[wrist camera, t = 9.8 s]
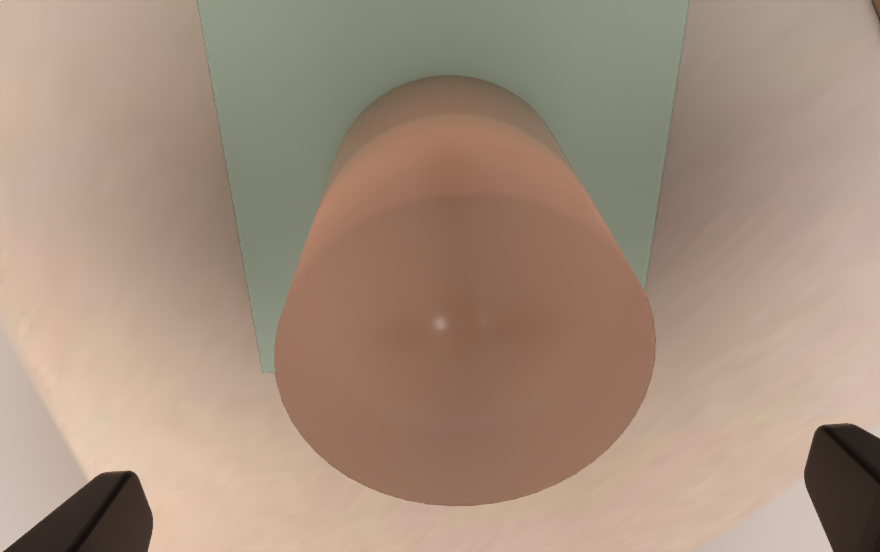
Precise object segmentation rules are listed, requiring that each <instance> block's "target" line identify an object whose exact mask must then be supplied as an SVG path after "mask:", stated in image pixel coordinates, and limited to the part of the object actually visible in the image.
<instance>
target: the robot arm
mask: <svg viewBox="0 0 880 552" xmlns="http://www.w3.org/2000/svg"><path fill="white" fill-rule="evenodd" d="M804 479H805V485H806V488H807V491H808V493H809V496H810V498H811V500H812V503H813V505H814V507H815V510H816V512H817V514H818V517H819V519H820V521H821V524H822V526H823V529H824V531H825V533H826V536H827V538H828V540H829V543H830V545H831V547H832V549H833V552H880V438H878V437H876V436H874V435H873V434H871V433H869V432H867V431H865V430H864V429H862V428H860V427H858V426H856V425H854V424H848V423H844V424H828V425H822V426H820V427H818V428H817V430H816V431H815V433H814V437H813V440H812V444H811V448H810V451H809V455H808V459H807V462H806V466H805V471H804ZM152 530H153V517H152V512H151V509H150V507H149V504H148V501H147V499H146V496H145V493H144V491H143V488H142V485H141V483H140V480H139V478H138V476H137V475H136V474H135V473H134V472H132V471H115V472H105V473H101V474H99V475H98V476H96V477H95V478H94V479H92V480H91V481H90V482H89V483H88V484H86V485H85V486H84V487H83V488H81V489H80V490H79V491H78V492H76V493H75V494H74V495H73V496H71V497H70V498H69V499H68V500H66V501H65V502H64V503H63V504H62V505H60V506H59V507H58V508H57V509H55V510H54V511H53V512H52V513H50V514H49V515H48V516H47V517H45V518H44V519H43V520H42V521H40V522H39V523H38V524H37V525H36V526H34V527H33V528H32V529H31V530H30V531H28V532H27V533H26V534H24V535H23V536H22V537H21V538H19V539H18V540H17V541H16V542H15V543H13V544H12V545H11V546H10V547H8V548H7V549H6V550H5V551H3V552H148V548H149V544H150V539H151V535H152Z"/></svg>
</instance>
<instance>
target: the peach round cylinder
mask: <svg viewBox="0 0 880 552" xmlns="http://www.w3.org/2000/svg"><path fill="white" fill-rule="evenodd" d="M655 343H656V338H655V330H654V322H653V316H652V313H651V309H650V306H649V303H648V299H647V297H646V295H645V293H644V290H643V288H642V286H641V284H640V282H639V280H638V278H637V276H636V275H635V273H634V271H633V270H632V268H631V266H630V265H629V263H628V261H627V259H626V258H625V256H624V254H623V253H622V251H621V249H620V248H619V246H618V244H617V242H616V241H615V239H614V237H613V236H612V234H611V232H610V231H609V229H608V227H607V226H606V224H605V222H604V220H603V219H602V217H601V215H600V214H599V212H598V210H597V209H596V207H595V205H594V204H593V202H592V200H591V198H590V197H589V195H588V193H587V192H586V190H585V188H584V187H583V185H582V183H581V181H580V180H579V178H578V176H577V175H576V173H575V171H574V170H573V168H572V166H571V165H570V163H569V161H568V159H567V158H566V156H565V154H564V153H563V151H562V149H561V148H560V146H559V144H558V142H557V141H556V139H555V137H554V136H553V134H552V132H551V131H550V129H549V128H548V126H547V125H546V123H545V122H544V120H543V119H542V118H541V117H540V116H539V115H538V113H537V112H536V111H535V110H534V109H533V108H532V107H531V106H530V105H529V104H527V103H526V102H525V101H524V100H522V99H521V98H520V97H519V96H517V95H515V94H514V93H512V92H510V91H509V90H507V89H505V88H503V87H501V86H498V85H496V84H494V83H491V82H488V81H485V80H481V79H478V78H473V77H466V76H458V75H441V76H434V77H426V78H422V79H418V80H415V81H411V82H408V83H405V84H403V85H401V86H398V87H396V88H394V89H392V90H390V91H389V92H387V93H385V94H384V95H382V96H380V97H379V98H377V99H376V100H375V101H374V102H372V103H371V104H370V105H369V106H367V107H366V108H365V109H364V110H363V112H362V113H361V114H360V115H359V116H358V117H357V118H356V119H355V120H354V122H353V123H352V125H351V126H350V127H349V129H348V130H347V132H346V133H345V135H344V137H343V139H342V141H341V143H340V145H339V148H338V151H337V153H336V156H335V159H334V162H333V165H332V168H331V170H330V173H329V176H328V179H327V182H326V185H325V188H324V191H323V194H322V197H321V199H320V202H319V205H318V208H317V211H316V214H315V217H314V220H313V223H312V226H311V228H310V231H309V234H308V237H307V240H306V243H305V246H304V249H303V252H302V255H301V257H300V260H299V263H298V266H297V269H296V272H295V275H294V278H293V281H292V284H291V286H290V289H289V292H288V295H287V298H286V301H285V304H284V307H283V310H282V312H281V315H280V318H279V321H278V327H277V332H276V337H275V345H274V366H275V373H276V381H277V385H278V388H279V392H280V395H281V398H282V402H283V404H284V406H285V408H286V410H287V412H288V414H289V417H290V419H291V421H292V422H293V424H294V425H295V427H296V428H297V430H298V431H299V433H300V434H301V436H302V437H303V438H304V439H305V440H306V441H307V443H308V444H309V445H310V446H311V447H312V448H313V449H314V451H315V452H316V453H318V454H319V455H320V456H321V457H322V458H323V459H324V460H326V461H327V462H328V463H329V464H330V465H331V466H333V467H334V468H336V469H337V470H339V471H340V472H342V473H343V474H345V475H346V476H347V477H349V478H351V479H353V480H355V481H357V482H359V483H361V484H362V485H364V486H366V487H369V488H371V489H374V490H376V491H379V492H381V493H384V494H386V495H390V496H393V497H397V498H400V499H404V500H407V501H413V502H419V503H424V504H432V505H444V506H474V505H483V504H492V503H498V502H503V501H508V500H513V499H517V498H520V497H523V496H527V495H530V494H533V493H536V492H539V491H541V490H543V489H546V488H548V487H551V486H553V485H556V484H558V483H559V482H561V481H563V480H565V479H567V478H569V477H571V476H572V475H574V474H576V473H577V472H579V471H580V470H582V469H583V468H585V467H586V466H588V465H589V464H591V463H592V462H593V461H594V460H596V459H597V458H598V457H599V456H600V455H601V454H603V453H604V452H605V451H606V450H607V449H608V448H609V447H610V446H611V445H612V444H613V443H614V442H615V441H616V440H617V439H618V438H619V436H620V435H621V434H622V433H623V432H624V430H625V429H626V428H627V426H628V425H629V423H630V422H631V421H632V419H633V418H634V416H635V415H636V413H637V411H638V409H639V407H640V405H641V403H642V401H643V399H644V397H645V394H646V392H647V389H648V386H649V383H650V380H651V376H652V371H653V366H654V361H655Z"/></svg>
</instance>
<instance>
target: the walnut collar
mask: <svg viewBox="0 0 880 552" xmlns="http://www.w3.org/2000/svg"><path fill="white" fill-rule="evenodd" d="M873 3H874V6H875V8H876V11H877V14H878V16H879V19H880V0H873Z"/></svg>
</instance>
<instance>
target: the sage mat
mask: <svg viewBox="0 0 880 552" xmlns="http://www.w3.org/2000/svg"><path fill="white" fill-rule="evenodd" d="M197 3H198V9H199V14H200V20H201V26H202V31H203V37H204V43H205V49H206V54H207V60H208V66H209V71H210V77H211V83H212V88H213V94H214V100H215V105H216V111H217V117H218V122H219V128H220V134H221V139H222V145H223V151H224V157H225V162H226V168H227V174H228V179H229V185H230V191H231V196H232V202H233V208H234V213H235V219H236V225H237V230H238V236H239V242H240V248H241V253H242V259H243V265H244V270H245V276H246V282H247V287H248V293H249V299H250V304H251V310H252V316H253V321H254V327H255V333H256V338H257V344H258V350H259V356H260V361H261V367H262V373H275V366H274V345H275V337H276V332H277V327H278V321H279V318H280V315H281V312H282V310H283V307H284V304H285V301H286V298H287V295H288V292H289V289H290V286H291V284H292V281H293V278H294V275H295V272H296V269H297V266H298V263H299V260H300V257H301V255H302V252H303V249H304V246H305V243H306V240H307V237H308V234H309V231H310V228H311V226H312V223H313V220H314V217H315V214H316V211H317V208H318V205H319V202H320V199H321V197H322V194H323V191H324V188H325V185H326V182H327V179H328V176H329V173H330V170H331V168H332V165H333V162H334V159H335V156H336V153H337V151H338V148H339V145H340V143H341V141H342V139H343V137H344V135H345V133H346V132H347V130H348V129H349V127H350V126H351V125H352V123H353V122H354V120H355V119H356V118H357V117H358V116H359V115H360V114H361V113H362V112H363V110H364V109H365V108H366V107H367V106H369V105H370V104H371V103H372V102H374V101H375V100H376V99H377V98H379V97H380V96H382V95H384V94H385V93H387V92H389V91H390V90H392V89H394V88H396V87H398V86H401V85H403V84H405V83H408V82H411V81H415V80H418V79H422V78H426V77H434V76H441V75H458V76H466V77H473V78H478V79H481V80H485V81H488V82H491V83H494V84H496V85H498V86H501V87H503V88H505V89H507V90H509V91H510V92H512V93H514V94H515V95H517V96H519V97H520V98H521V99H522V100H524V101H525V102H526V103H527V104H529V105H530V106H531V107H532V108H533V109H534V110H535V111H536V112H537V113H538V115H539V116H540V117H541V118H542V119H543V120H544V122H545V123H546V125H547V126H548V128H549V129H550V131H551V132H552V134H553V136H554V137H555V139H556V141H557V142H558V144H559V146H560V148H561V149H562V151H563V153H564V154H565V156H566V158H567V159H568V161H569V163H570V165H571V166H572V168H573V170H574V171H575V173H576V175H577V176H578V178H579V180H580V181H581V183H582V185H583V187H584V188H585V190H586V192H587V193H588V195H589V197H590V198H591V200H592V202H593V204H594V205H595V207H596V209H597V210H598V212H599V214H600V215H601V217H602V219H603V220H604V222H605V224H606V226H607V227H608V229H609V231H610V232H611V234H612V236H613V237H614V239H615V241H616V242H617V244H618V246H619V248H620V249H621V251H622V253H623V254H624V256H625V258H626V259H627V261H628V263H629V265H630V266H631V268H632V270H633V271H634V273H635V275H636V276H637V278H638V280H639V282H640V284H641V286H642V288H643V290H644V292H645V286H646V279H647V273H648V266H649V260H650V253H651V247H652V240H653V234H654V227H655V221H656V214H657V208H658V201H659V195H660V188H661V181H662V175H663V168H664V162H665V155H666V149H667V142H668V136H669V129H670V123H671V116H672V110H673V103H674V97H675V90H676V84H677V77H678V71H679V64H680V58H681V51H682V45H683V38H684V32H685V25H686V19H687V12H688V6H689V0H197Z"/></svg>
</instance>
